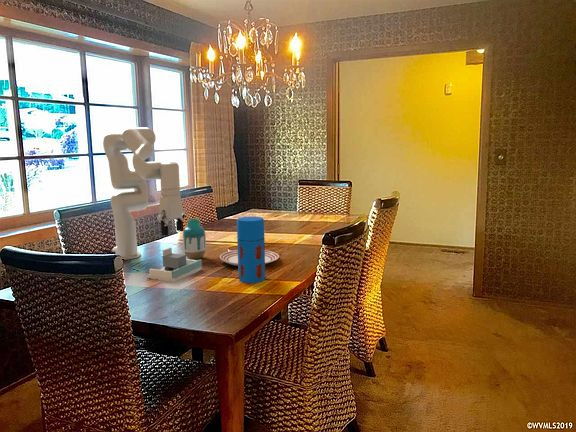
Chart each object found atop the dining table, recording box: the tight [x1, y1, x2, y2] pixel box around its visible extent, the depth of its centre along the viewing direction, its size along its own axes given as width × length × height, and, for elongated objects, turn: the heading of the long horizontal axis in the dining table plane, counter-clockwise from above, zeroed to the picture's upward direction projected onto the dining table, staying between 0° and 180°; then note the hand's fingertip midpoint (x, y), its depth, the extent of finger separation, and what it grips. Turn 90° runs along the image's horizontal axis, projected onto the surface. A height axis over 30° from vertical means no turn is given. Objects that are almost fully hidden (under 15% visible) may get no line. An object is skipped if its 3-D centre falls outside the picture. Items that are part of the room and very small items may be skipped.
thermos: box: [236, 216, 266, 284], centre depth 185 cm, size 11×11×25 cm
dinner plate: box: [219, 249, 280, 267], centre depth 213 cm, size 28×27×3 cm
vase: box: [182, 217, 207, 260], centre depth 218 cm, size 11×11×19 cm
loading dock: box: [146, 258, 203, 283], centre depth 195 cm, size 14×19×4 cm
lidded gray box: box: [161, 247, 187, 271], centre depth 195 cm, size 8×6×9 cm
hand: (172, 232), depth 193 cm, fingers open, 9 cm apart
